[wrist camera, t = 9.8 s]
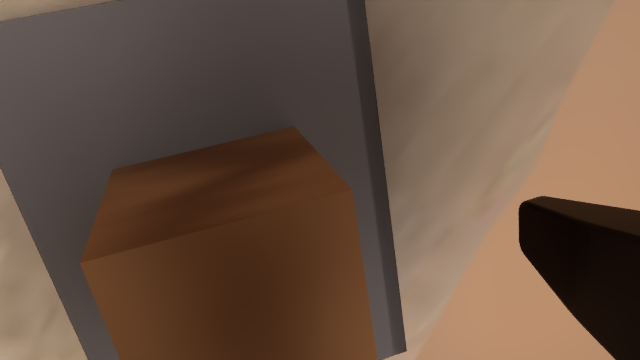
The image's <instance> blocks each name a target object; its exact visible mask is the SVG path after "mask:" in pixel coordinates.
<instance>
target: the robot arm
mask: <svg viewBox="0 0 640 360" xmlns="http://www.w3.org/2000/svg"><path fill="white" fill-rule="evenodd" d="M519 243H520V247H521V250H522V252H523V253H524V255H525V256H526V257H527V259H528V260H529V261H530V262H531V264H532V265H533V266H534V267H535V269H536V270H537V271H538V272H539V274H540V275H541V276H542V277H543V279H544V280H545V281H546V283H547V284H548V285H549V286H550V287H551V289H552V290H553V291H554V292H555V294H556V295H557V296H558V298H559V299H560V300H561V301H562V302H563V304H564V305H565V306H566V307H567V309H568V310H569V311H570V312H571V313H572V315H573V316H574V317H575V318H576V319H577V320H578V321H579V322H580V323H581V324H582V326H583V327H584V328H585V329H586V330H587V331H588V332H589V333H590V334H591V335H592V336H593V337H594V338H595V339H596V340H597V341H598V342H599V343H600V344H601V345H602V346H603V347H604V348H605V349H606V350H607V351H608V352H609V353H610V354H611V355H612V356H613V358H615V360H640V211H638V210H631V209H625V208H618V207H612V206H605V205H598V204H591V203H585V202H579V201H573V200H566V199H559V198H552V197H546V196H540V197H536V198H533V199H530V200H527V201H524V202H523V203H521V205H520V207H519Z"/></svg>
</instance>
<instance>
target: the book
mask: <svg viewBox="0 0 640 360" xmlns="http://www.w3.org/2000/svg"><path fill="white" fill-rule="evenodd" d="M293 126H295V127H296V129H297V130H298V131H299V132H300V133H301V134H302V135H303V136H304V137H305V138H306V140H307V141H308V142H309V143H310V144H311V145H312V146H313V147H314V148H315V149H316V151H317V152H318V153H319V154H320V155H321V156H322V157H323V158H324V159H325V160H326V162H327V163H328V164H329V165H330V166H331V167H332V168H333V169H334V170H335V172H336V173H337V174H338V175H339V176H340V177H341V178H342V179H343V180H344V181H345V183H346V184H347V185H348V186H349V187H350V188H351V189H352V192H353V198H354V205H355V212H356V219H357V225H358V232H359V239H360V245H361V252H362V259H363V265H364V272H365V279H366V285H367V292H368V299H369V306H370V312H371V319H372V326H373V332H374V339H375V346H376V352H377V359H378V360H382V359H385V358H388V357H391V356H394V355H397V354H400V353H402V352H405V351H407V350H406V342H405V333H404V325H403V317H402V308H401V300H400V292H399V283H398V275H397V267H396V258H395V250H394V242H393V233H392V225H391V217H390V208H389V200H388V192H387V183H386V175H385V167H384V158H383V150H382V142H381V133H380V125H379V117H378V108H377V100H376V92H375V83H374V75H373V67H372V58H371V50H370V42H369V33H368V25H367V17H366V8H365V0H118V1H113V2H107V3H101V4H96V5H90V6H85V7H79V8H73V9H68V10H62V11H57V12H51V13H45V14H40V15H34V16H28V17H23V18H17V19H12V20H6V21H0V168H1V170H2V172H3V174H4V177H5V179H6V181H7V183H8V185H9V188H10V190H11V192H12V194H13V196H14V199H15V201H16V203H17V205H18V207H19V209H20V212H21V214H22V216H23V218H24V220H25V223H26V225H27V227H28V229H29V231H30V234H31V236H32V238H33V240H34V242H35V244H36V247H37V249H38V251H39V253H40V255H41V258H42V260H43V262H44V264H45V266H46V269H47V271H48V273H49V275H50V277H51V279H52V282H53V284H54V286H55V288H56V290H57V293H58V295H59V297H60V299H61V301H62V304H63V306H64V308H65V310H66V312H67V315H68V317H69V319H70V321H71V323H72V325H73V328H74V330H75V332H76V334H77V336H78V339H79V341H80V343H81V345H82V347H83V350H84V352H85V354H86V356H87V358H88V360H120V358H119V356H118V354H117V351H116V349H115V346H114V344H113V342H112V339H111V337H110V334H109V332H108V330H107V327H106V325H105V322H104V320H103V318H102V315H101V313H100V310H99V308H98V306H97V303H96V301H95V298H94V296H93V294H92V291H91V289H90V287H89V284H88V282H87V279H86V277H85V275H84V272H83V270H82V267H81V265H80V261H81V258H82V256H83V253H84V250H85V247H86V244H87V241H88V238H89V235H90V233H91V230H92V227H93V224H94V221H95V218H96V215H97V212H98V209H99V207H100V204H101V201H102V198H103V195H104V192H105V189H106V186H107V184H108V181H109V178H110V175H111V172H112V170H113V169H117V168H121V167H125V166H129V165H134V164H138V163H142V162H146V161H150V160H155V159H159V158H163V157H167V156H171V155H176V154H180V153H184V152H188V151H192V150H197V149H201V148H205V147H209V146H213V145H218V144H222V143H226V142H230V141H235V140H239V139H243V138H247V137H251V136H256V135H260V134H264V133H268V132H272V131H277V130H281V129H285V128H289V127H293Z"/></svg>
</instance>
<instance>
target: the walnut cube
mask: <svg viewBox="0 0 640 360" xmlns="http://www.w3.org/2000/svg"><path fill="white" fill-rule="evenodd" d="M80 265H81V267H82V270H83V272H84V275H85V277H86V279H87V282H88V284H89V287H90V289H91V291H92V294H93V296H94V298H95V301H96V303H97V306H98V308H99V310H100V313H101V315H102V318H103V320H104V322H105V325H106V327H107V330H108V332H109V334H110V337H111V339H112V342H113V344H114V346H115V349H116V351H117V354H118V356H119V358H120V360H378V359H377V352H376V346H375V339H374V332H373V326H372V319H371V312H370V306H369V299H368V292H367V285H366V279H365V272H364V265H363V259H362V252H361V245H360V239H359V232H358V225H357V219H356V212H355V205H354V198H353V192H352V189H351V188H350V187H349V186H348V185H347V184H346V183H345V181H344V180H343V179H342V178H341V177H340V176H339V175H338V174H337V173H336V172H335V170H334V169H333V168H332V167H331V166H330V165H329V164H328V163H327V162H326V160H325V159H324V158H323V157H322V156H321V155H320V154H319V153H318V152H317V151H316V149H315V148H314V147H313V146H312V145H311V144H310V143H309V142H308V141H307V140H306V138H305V137H304V136H303V135H302V134H301V133H300V132H299V131H298V130H297V129H296V127H295V126H293V127H289V128H285V129H281V130H277V131H272V132H268V133H264V134H260V135H256V136H251V137H247V138H243V139H239V140H235V141H230V142H226V143H222V144H218V145H213V146H209V147H205V148H201V149H197V150H192V151H188V152H184V153H180V154H176V155H171V156H167V157H163V158H159V159H155V160H150V161H146V162H142V163H138V164H134V165H129V166H125V167H121V168H117V169H113V170H112V172H111V175H110V178H109V181H108V184H107V186H106V189H105V192H104V195H103V198H102V201H101V204H100V207H99V209H98V212H97V215H96V218H95V221H94V224H93V227H92V230H91V233H90V235H89V238H88V241H87V244H86V247H85V250H84V253H83V256H82V258H81V261H80Z"/></svg>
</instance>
